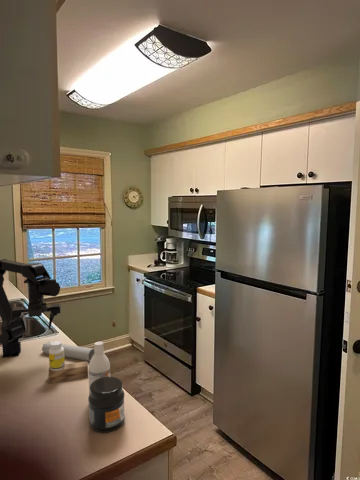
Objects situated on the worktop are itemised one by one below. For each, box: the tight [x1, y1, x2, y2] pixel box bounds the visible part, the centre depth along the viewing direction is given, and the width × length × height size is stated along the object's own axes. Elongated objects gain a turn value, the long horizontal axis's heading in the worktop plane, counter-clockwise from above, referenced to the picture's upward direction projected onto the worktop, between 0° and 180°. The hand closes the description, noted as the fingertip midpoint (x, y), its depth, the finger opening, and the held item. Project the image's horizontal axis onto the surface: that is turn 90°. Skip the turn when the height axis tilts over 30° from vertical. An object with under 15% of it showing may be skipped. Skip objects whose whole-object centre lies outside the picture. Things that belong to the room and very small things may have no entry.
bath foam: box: [88, 341, 111, 396], centre depth 110 cm, size 7×7×20 cm
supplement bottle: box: [48, 340, 66, 371], centre depth 124 cm, size 5×5×10 cm
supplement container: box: [87, 376, 126, 433], centre depth 99 cm, size 10×10×12 cm
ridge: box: [48, 361, 89, 384], centre depth 126 cm, size 14×6×4 cm, turn 108°
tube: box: [41, 341, 95, 363], centre depth 143 cm, size 5×5×25 cm
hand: (37, 330), depth 138 cm, fingers open, 9 cm apart
